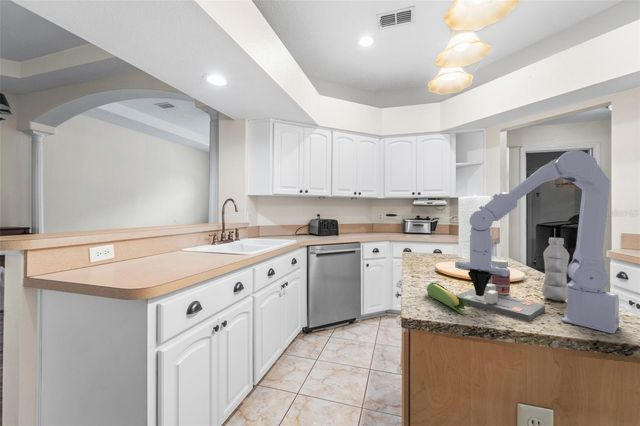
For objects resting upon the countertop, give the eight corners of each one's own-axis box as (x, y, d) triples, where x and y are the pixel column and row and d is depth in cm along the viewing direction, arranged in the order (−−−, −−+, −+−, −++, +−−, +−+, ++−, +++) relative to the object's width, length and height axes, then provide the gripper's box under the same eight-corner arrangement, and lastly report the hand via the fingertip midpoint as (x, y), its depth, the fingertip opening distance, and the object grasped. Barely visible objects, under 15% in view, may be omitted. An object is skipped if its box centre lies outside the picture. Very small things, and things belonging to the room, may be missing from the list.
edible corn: (437, 294, 96) (437, 280, 96) (473, 316, 76) (474, 299, 76) (422, 294, 96) (422, 281, 96) (455, 317, 76) (456, 300, 76)
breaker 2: (497, 301, 82) (497, 291, 82) (492, 304, 80) (492, 293, 80) (490, 300, 84) (490, 290, 84) (485, 302, 82) (485, 292, 81)
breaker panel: (544, 310, 80) (544, 304, 80) (529, 321, 72) (529, 315, 72) (472, 293, 96) (472, 288, 96) (453, 300, 88) (453, 295, 88)
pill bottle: (514, 295, 95) (514, 261, 95) (497, 295, 94) (498, 262, 94) (500, 289, 101) (500, 258, 101) (484, 290, 100) (485, 259, 100)
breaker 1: (495, 293, 90) (495, 284, 90) (490, 295, 88) (491, 286, 88) (489, 292, 91) (489, 283, 91) (484, 294, 89) (484, 285, 89)
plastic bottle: (557, 297, 93) (559, 237, 93) (574, 303, 86) (575, 239, 86) (537, 296, 94) (538, 236, 93) (551, 303, 87) (553, 239, 86)
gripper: (450, 248, 88) (449, 291, 88) (502, 255, 76) (501, 304, 76) (461, 247, 92) (460, 288, 92) (512, 252, 80) (511, 299, 81)
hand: (479, 295), depth 84 cm, fingers closed
